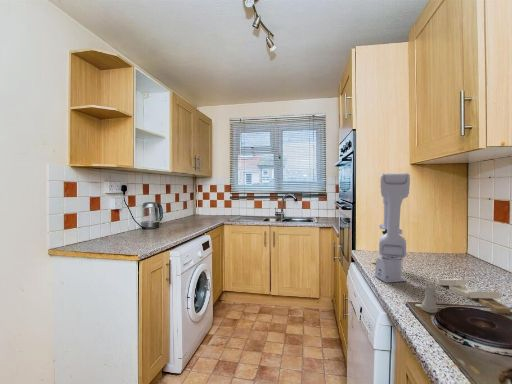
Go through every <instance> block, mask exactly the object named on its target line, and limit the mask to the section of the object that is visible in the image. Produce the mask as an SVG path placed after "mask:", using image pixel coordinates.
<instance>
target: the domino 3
mask: <svg viewBox="0 0 512 384" xmlns="http://www.w3.org/2000/svg"><path fill="white" fill-rule="evenodd" d="M469 295H470V299H479V298H492V299H502V298H501V294H500V291H474V292H469Z"/></svg>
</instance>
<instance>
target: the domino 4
mask: <svg viewBox="0 0 512 384" xmlns="http://www.w3.org/2000/svg"><path fill="white" fill-rule="evenodd" d="M478 303H479V304H480V305H482V306H483V305H484V306H483V307H485V306H487V307H489V308H490V309H491V310H490V309H489V310H490V311H491V312H493V313H495V314H505V313H507V314H511V308H510V307H508V306H507V305H505V304H502V303H501V302H499V301H497V300H495V298H478ZM487 307H486V308H487Z"/></svg>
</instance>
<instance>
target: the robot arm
mask: <svg viewBox="0 0 512 384" xmlns="http://www.w3.org/2000/svg"><path fill="white" fill-rule="evenodd" d="M410 181H411V177H410V174H409V173H408V172H406V173H384V172H383V173H381V174H380V194H381V197H382V203H383V223H382V224H379V229H381V230H382V232H381V233H382V235H380V237H379V241H378V254H379V255H380V256H381V257H379V258H376V260H375V265H374V266H375V269H374V271H375V273H374V275H373V276H374V277H375V278H377V279H379V280H381V281H382V282H384V283H388V284H389V283H397V282H398V283H399V282H407V281H408V280H407V279H406V278H404V277H402V269H403V267H402V262H403V258H405V257H406V256H407V241H406V239H405V237H404V236H403V229H401V228H400V223H401V206H402V203H403V200H404V199H406V198H408V197H409V194H410V184H411V182H410Z"/></svg>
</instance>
